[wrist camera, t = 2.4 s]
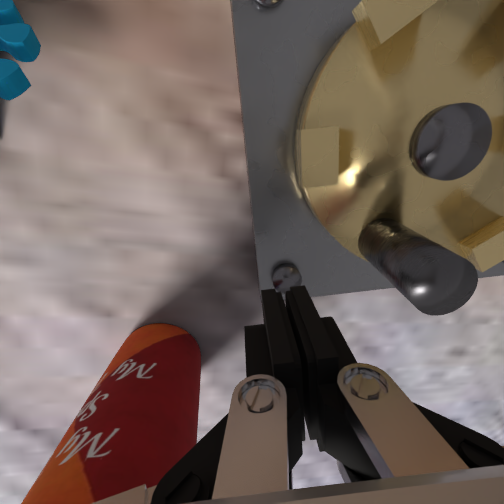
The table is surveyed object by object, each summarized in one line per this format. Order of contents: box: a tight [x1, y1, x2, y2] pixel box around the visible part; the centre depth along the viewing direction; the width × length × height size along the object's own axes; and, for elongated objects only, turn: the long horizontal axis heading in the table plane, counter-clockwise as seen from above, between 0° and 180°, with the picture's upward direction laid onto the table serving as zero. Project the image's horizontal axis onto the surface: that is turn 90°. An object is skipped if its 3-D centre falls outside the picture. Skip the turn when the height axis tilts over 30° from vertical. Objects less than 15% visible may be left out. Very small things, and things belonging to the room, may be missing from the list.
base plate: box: [230, 0, 504, 303], centre depth 17 cm, size 18×18×3 cm
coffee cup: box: [21, 323, 201, 504], centre depth 16 cm, size 8×8×15 cm
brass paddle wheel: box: [295, 0, 504, 315], centre depth 12 cm, size 13×13×7 cm
